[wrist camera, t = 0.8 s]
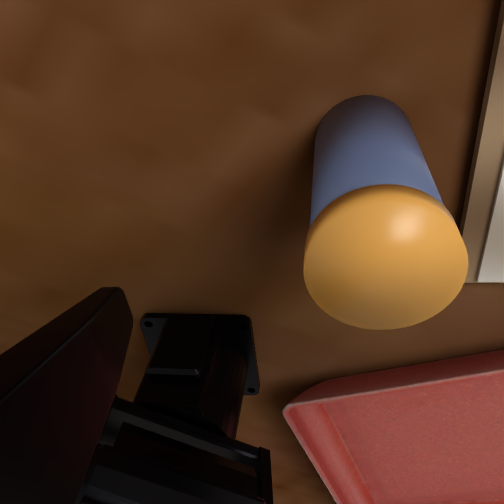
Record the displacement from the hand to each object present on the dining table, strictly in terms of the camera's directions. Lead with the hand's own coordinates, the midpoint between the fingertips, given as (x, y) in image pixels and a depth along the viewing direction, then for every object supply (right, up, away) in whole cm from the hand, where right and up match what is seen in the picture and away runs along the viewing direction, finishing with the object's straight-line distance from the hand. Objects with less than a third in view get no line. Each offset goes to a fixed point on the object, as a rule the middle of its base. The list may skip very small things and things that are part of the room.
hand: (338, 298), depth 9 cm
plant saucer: (+12, -11, +21) cm, 26 cm away
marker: (+3, +5, +10) cm, 12 cm away
